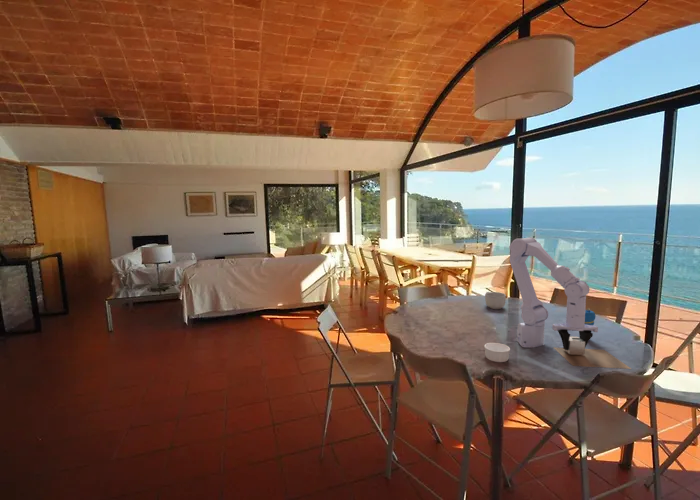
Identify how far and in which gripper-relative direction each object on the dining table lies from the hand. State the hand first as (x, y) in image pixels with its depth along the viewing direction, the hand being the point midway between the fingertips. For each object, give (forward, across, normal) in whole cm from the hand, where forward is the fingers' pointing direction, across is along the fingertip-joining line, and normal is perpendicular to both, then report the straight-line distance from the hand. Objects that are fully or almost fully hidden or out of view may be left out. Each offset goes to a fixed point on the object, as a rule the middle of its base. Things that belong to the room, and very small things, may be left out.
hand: (573, 349), depth 126 cm
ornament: (+3, +12, +16) cm, 20 cm away
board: (+3, +4, -3) cm, 6 cm away
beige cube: (+1, 0, 0) cm, 1 cm away
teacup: (+3, -12, +67) cm, 68 cm away
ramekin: (+3, -28, -4) cm, 28 cm away
